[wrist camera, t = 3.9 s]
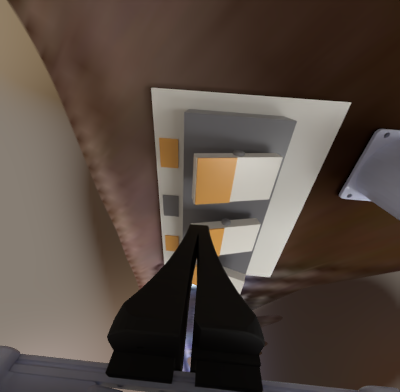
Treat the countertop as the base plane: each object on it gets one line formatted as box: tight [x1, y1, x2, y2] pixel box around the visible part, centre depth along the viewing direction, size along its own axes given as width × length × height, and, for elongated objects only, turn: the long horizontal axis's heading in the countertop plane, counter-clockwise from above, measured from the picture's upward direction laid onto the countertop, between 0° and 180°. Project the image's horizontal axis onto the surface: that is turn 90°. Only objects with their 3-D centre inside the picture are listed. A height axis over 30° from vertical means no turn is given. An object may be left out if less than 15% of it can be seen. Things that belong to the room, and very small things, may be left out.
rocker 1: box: [192, 150, 283, 205], centre depth 14 cm, size 7×4×1 cm, turn 87°
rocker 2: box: [191, 218, 261, 256], centre depth 18 cm, size 7×4×1 cm, turn 87°
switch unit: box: [151, 88, 351, 277], centre depth 21 cm, size 18×26×4 cm
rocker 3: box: [192, 259, 245, 294], centre depth 22 cm, size 7×4×1 cm, turn 85°
